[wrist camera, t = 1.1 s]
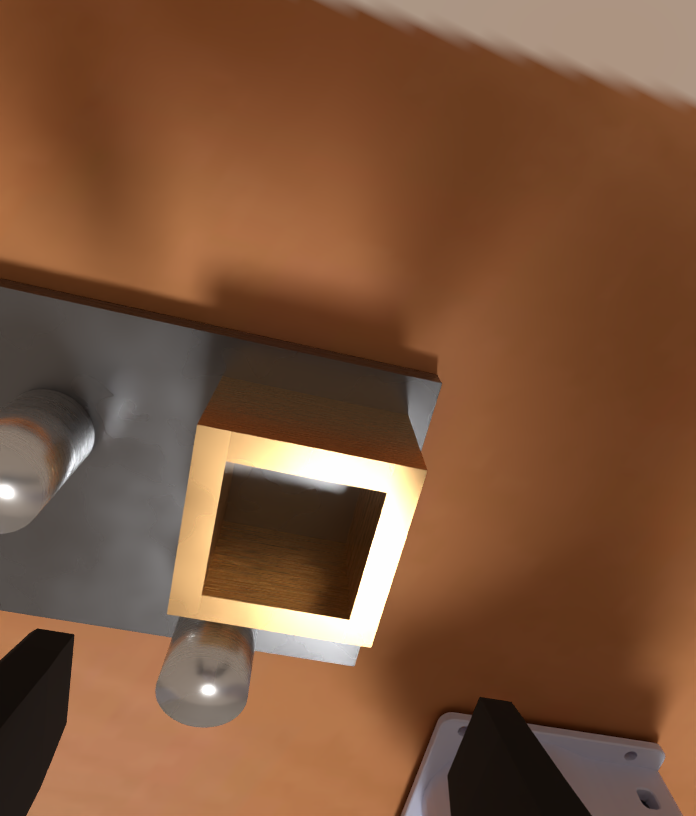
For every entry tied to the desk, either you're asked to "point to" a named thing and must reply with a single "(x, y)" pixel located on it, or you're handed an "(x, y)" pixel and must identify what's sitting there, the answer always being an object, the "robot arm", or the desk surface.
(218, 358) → the steel plate
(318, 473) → the collar
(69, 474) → the post
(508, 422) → the desk surface
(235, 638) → the post
